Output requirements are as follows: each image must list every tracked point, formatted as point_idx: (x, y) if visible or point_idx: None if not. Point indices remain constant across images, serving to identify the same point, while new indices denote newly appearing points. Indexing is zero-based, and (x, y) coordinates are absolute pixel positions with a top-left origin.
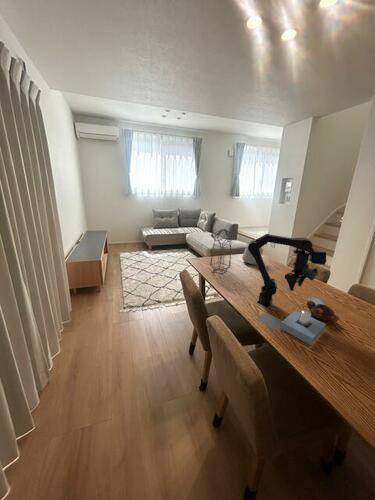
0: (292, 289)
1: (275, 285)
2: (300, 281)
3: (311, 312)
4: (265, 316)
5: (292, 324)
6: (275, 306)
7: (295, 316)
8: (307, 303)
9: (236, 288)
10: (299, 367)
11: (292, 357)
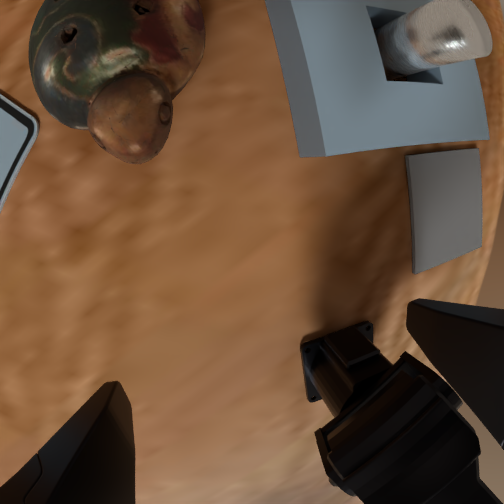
0: (444, 307)
1: (442, 432)
2: (109, 473)
3: (186, 83)
4: (445, 246)
5: (464, 87)
6: (304, 315)
7: (399, 110)
8: (162, 142)
9: (326, 485)
10: (498, 18)
11: (497, 41)
